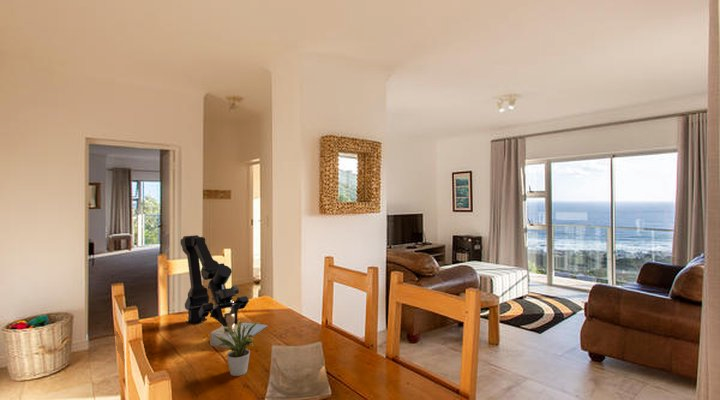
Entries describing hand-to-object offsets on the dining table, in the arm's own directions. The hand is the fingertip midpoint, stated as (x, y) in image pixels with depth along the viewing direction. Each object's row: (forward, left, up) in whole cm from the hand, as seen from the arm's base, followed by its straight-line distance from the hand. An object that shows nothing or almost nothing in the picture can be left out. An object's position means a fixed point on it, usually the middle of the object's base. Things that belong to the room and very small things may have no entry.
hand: (231, 325), depth 146 cm
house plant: (+17, -18, -7) cm, 26 cm away
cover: (-1, +1, -7) cm, 7 cm away
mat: (-2, +15, -7) cm, 16 cm away
